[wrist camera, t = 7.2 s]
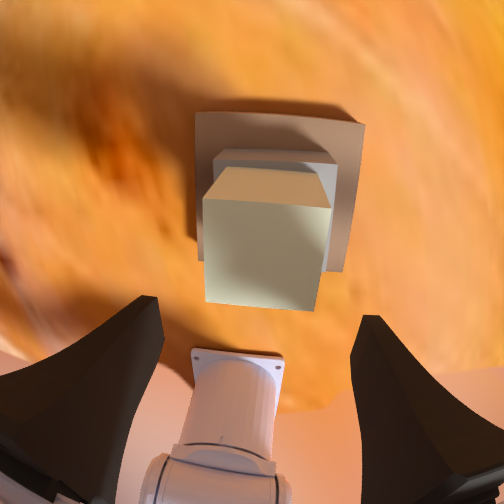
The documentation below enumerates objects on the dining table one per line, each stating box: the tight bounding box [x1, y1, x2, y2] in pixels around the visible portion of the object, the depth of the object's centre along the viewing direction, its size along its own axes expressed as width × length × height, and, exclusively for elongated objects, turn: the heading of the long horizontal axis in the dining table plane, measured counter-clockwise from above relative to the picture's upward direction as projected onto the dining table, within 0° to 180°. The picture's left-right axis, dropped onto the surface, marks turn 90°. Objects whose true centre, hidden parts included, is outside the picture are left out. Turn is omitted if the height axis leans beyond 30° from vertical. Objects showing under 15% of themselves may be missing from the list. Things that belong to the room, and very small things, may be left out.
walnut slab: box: [195, 111, 365, 272], centre depth 18 cm, size 9×9×2 cm
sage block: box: [202, 166, 332, 312], centre depth 12 cm, size 4×4×4 cm
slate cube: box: [213, 148, 338, 272], centre depth 16 cm, size 6×6×3 cm
